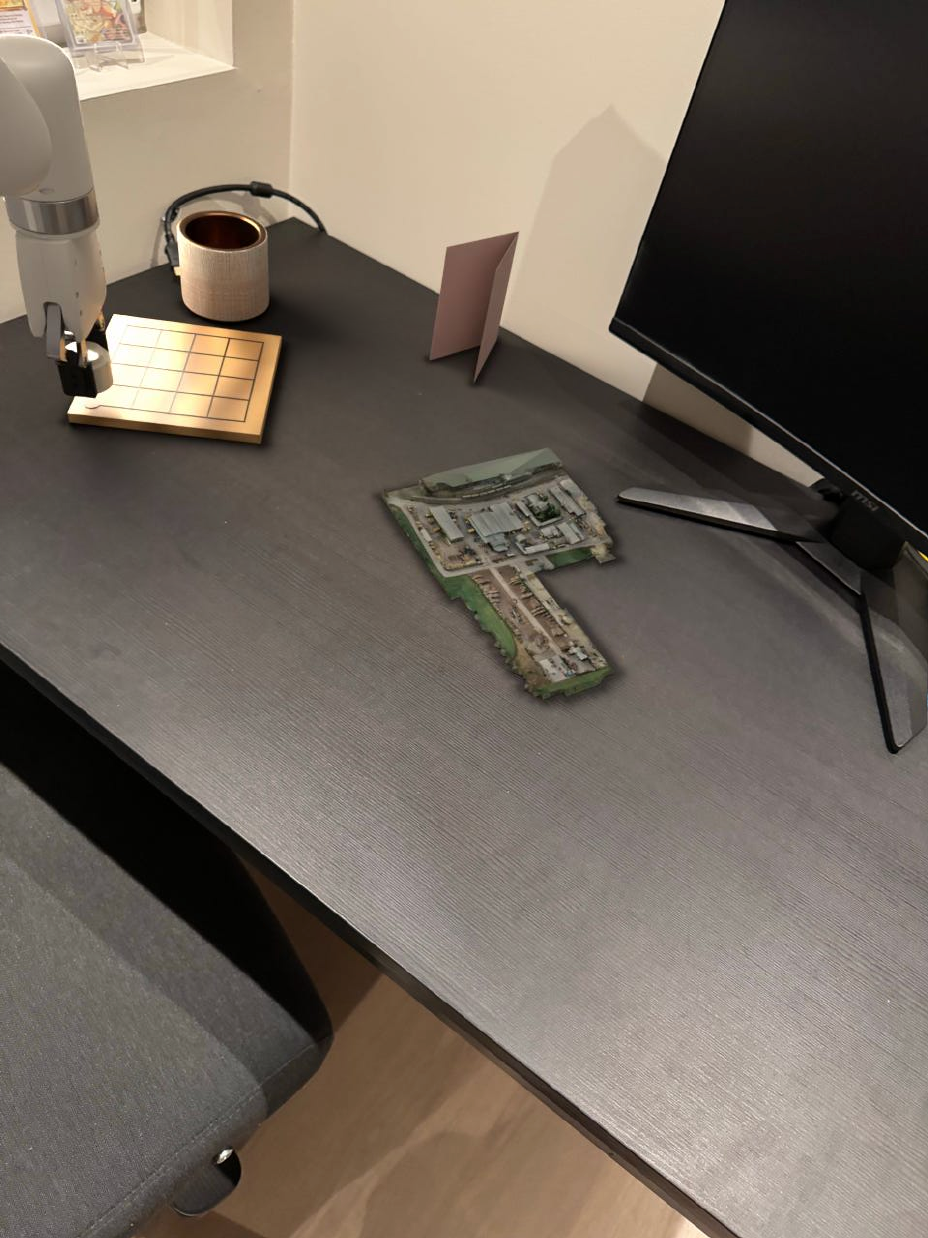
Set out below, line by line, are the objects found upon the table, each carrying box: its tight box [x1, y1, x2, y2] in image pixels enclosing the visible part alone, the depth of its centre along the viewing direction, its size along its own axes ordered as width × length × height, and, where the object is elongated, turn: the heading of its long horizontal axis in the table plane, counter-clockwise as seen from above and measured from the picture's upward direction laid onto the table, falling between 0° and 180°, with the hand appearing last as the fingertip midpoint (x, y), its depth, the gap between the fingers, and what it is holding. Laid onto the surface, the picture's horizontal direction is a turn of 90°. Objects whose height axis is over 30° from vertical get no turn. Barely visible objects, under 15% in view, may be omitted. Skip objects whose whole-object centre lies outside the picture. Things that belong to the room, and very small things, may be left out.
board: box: [67, 313, 283, 445], centre depth 97 cm, size 20×20×1 cm
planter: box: [176, 209, 270, 324], centre depth 106 cm, size 11×11×10 cm
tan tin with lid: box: [65, 341, 114, 393], centre depth 87 cm, size 5×5×4 cm
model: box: [381, 447, 617, 701], centre depth 86 cm, size 21×30×2 cm
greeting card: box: [429, 230, 520, 383], centre depth 105 cm, size 11×7×15 cm, turn 129°
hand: (88, 377), depth 88 cm, fingers closed on tan tin with lid, 4 cm apart
